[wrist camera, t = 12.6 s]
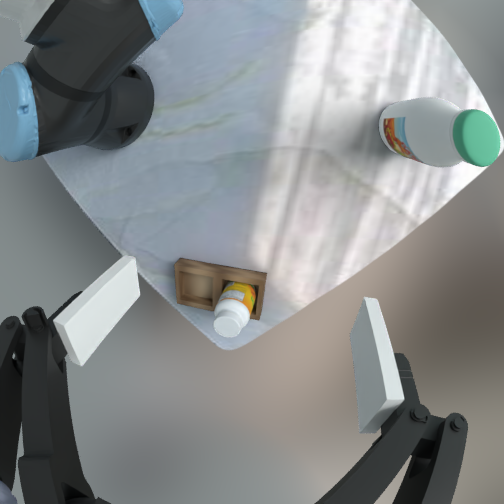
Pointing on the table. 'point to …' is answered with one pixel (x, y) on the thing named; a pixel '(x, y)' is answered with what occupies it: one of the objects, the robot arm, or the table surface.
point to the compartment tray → (213, 284)
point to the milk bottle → (439, 133)
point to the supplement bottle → (234, 308)
